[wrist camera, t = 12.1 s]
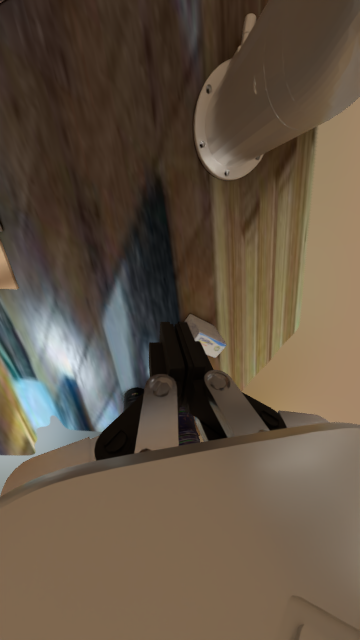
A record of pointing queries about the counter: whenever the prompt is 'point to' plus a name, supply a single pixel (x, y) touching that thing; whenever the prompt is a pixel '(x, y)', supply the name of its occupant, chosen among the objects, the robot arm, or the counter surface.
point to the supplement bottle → (132, 397)
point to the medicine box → (206, 335)
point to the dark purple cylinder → (186, 428)
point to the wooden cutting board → (6, 272)
